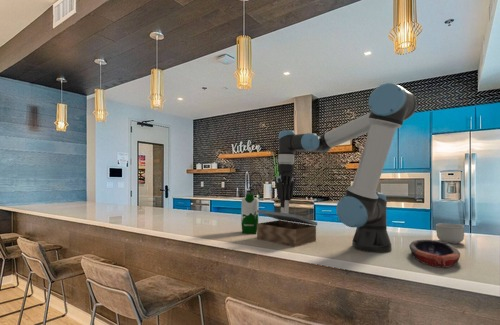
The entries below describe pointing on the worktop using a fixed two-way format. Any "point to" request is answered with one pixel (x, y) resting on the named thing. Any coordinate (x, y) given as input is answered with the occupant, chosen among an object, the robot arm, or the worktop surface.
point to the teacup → (450, 233)
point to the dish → (435, 252)
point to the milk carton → (249, 214)
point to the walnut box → (286, 232)
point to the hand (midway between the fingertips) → (284, 214)
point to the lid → (287, 217)
